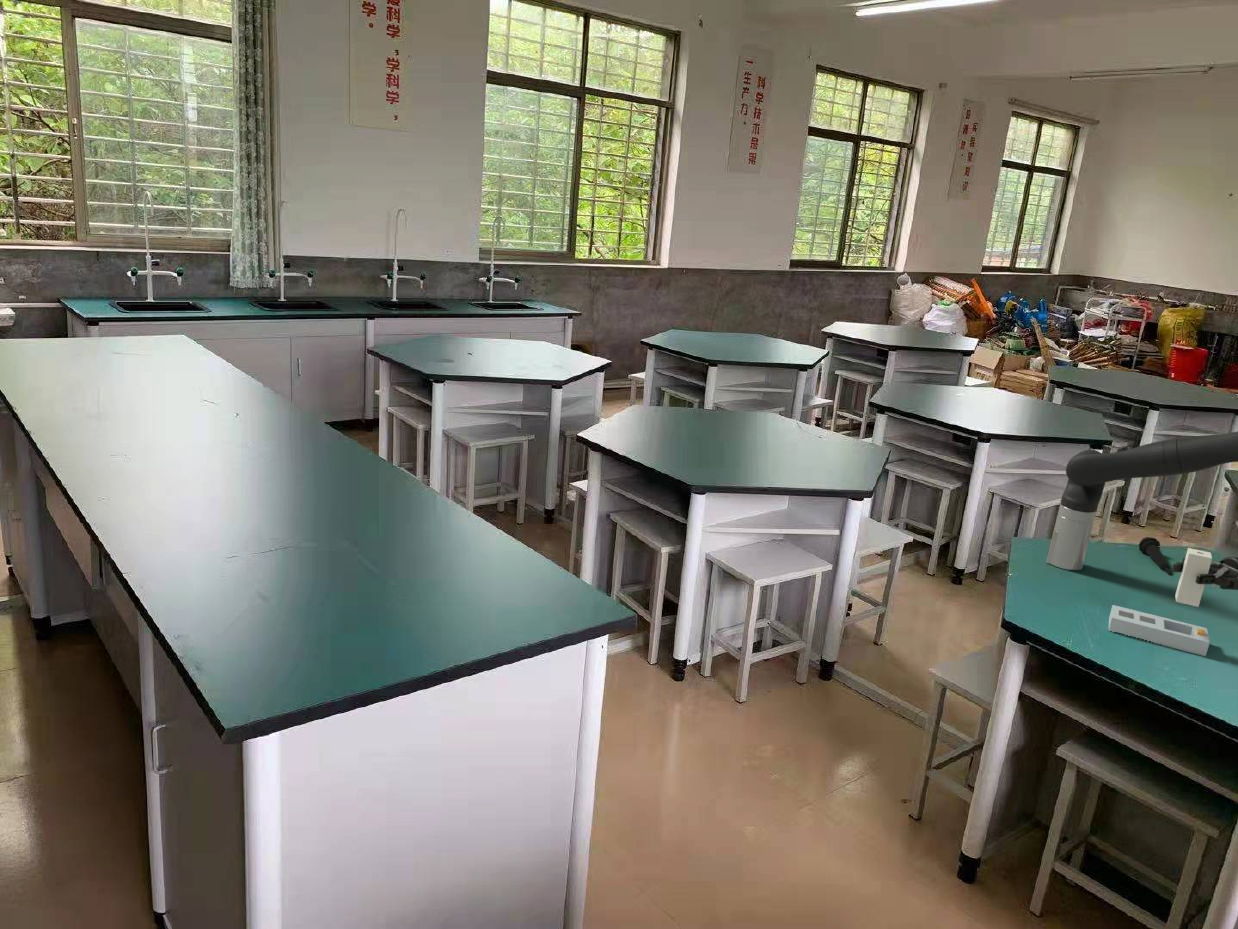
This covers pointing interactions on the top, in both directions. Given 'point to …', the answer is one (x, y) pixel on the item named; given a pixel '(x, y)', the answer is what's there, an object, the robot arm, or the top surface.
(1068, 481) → the robot arm
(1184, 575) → the block
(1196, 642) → the power strip
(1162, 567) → the microphone
